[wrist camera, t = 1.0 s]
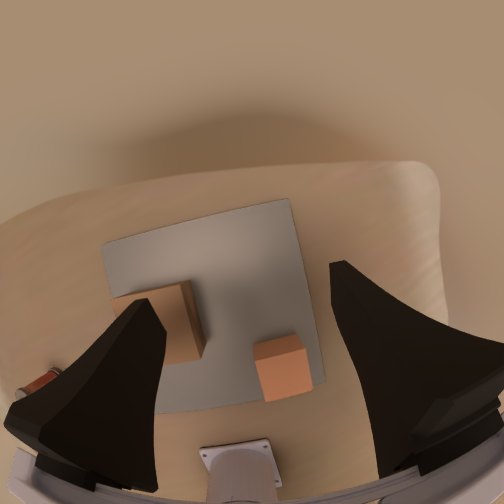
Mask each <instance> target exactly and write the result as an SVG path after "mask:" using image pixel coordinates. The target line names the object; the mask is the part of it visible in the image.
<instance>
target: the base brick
mask: <svg viewBox="0 0 504 504" xmlns="http://www.w3.org/2000/svg"><path fill="white" fill-rule="evenodd" d="M143 298H148V299H149V301H150V303H151V305H152V307H153V309H154V310H155V312H156V314H157V316H158V318H159V319H160V321H161V323H162V325H163V326H164V328H165V330H166V331H167V341H166V352H165V358H164V363H163V366H164V365H171V364H177V363H184V362H190V361H196V360H201V358H202V355H203V352H204V350H205V347H206V344H207V343H206V339H205V336H204V332H203V329H202V325H201V321H200V318H199V314H198V310H197V306H196V303H195V299H194V295H193V291H192V287H191V283H190V279H189V280H185V281H180V282H176V283H171V284H167V285H162V286H158V287H153V288H149V289H144V290H140V291H135V292H130V293H127V294H124V295H122V296H119V297H116V298H113V299H111V302H112V306H113V309H114V313H115V317H116V319H117V317H118V316H119V315H120V314H121V313H122V312H123V311H124V310H125V309H126V308H127V307H128V306H129V305H130V304H131V303H132V302H133V301H134V300H136V299H143Z"/></svg>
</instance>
